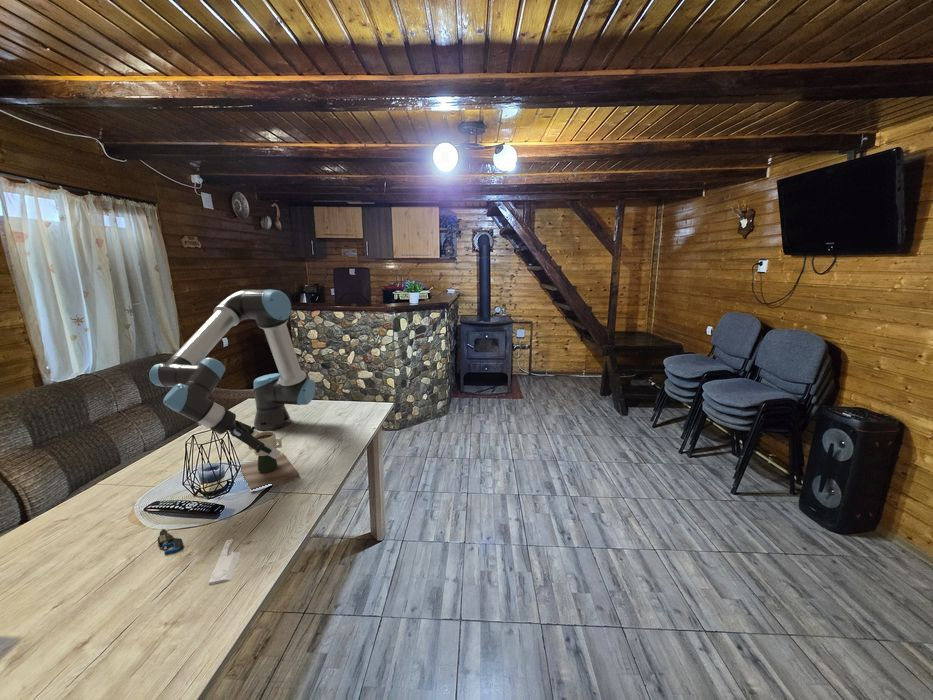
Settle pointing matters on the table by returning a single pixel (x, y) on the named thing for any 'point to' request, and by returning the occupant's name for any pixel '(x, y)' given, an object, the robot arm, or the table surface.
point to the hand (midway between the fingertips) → (272, 448)
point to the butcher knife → (225, 565)
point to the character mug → (264, 460)
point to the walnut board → (269, 473)
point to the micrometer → (169, 542)
